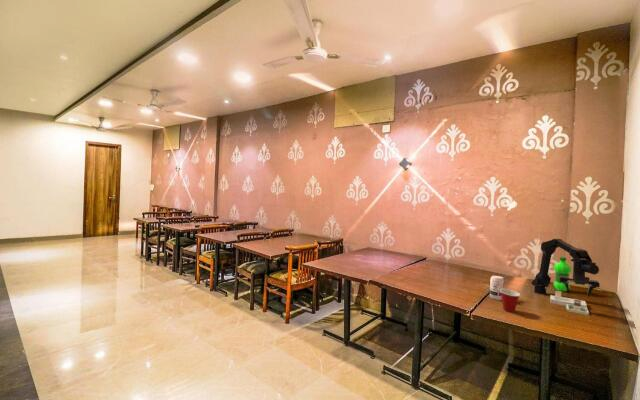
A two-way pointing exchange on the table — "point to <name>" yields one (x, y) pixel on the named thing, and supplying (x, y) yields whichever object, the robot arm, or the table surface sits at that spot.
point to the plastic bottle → (561, 274)
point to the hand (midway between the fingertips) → (578, 295)
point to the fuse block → (565, 301)
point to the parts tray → (577, 310)
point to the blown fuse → (577, 304)
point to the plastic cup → (509, 299)
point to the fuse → (557, 295)
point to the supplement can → (496, 287)
